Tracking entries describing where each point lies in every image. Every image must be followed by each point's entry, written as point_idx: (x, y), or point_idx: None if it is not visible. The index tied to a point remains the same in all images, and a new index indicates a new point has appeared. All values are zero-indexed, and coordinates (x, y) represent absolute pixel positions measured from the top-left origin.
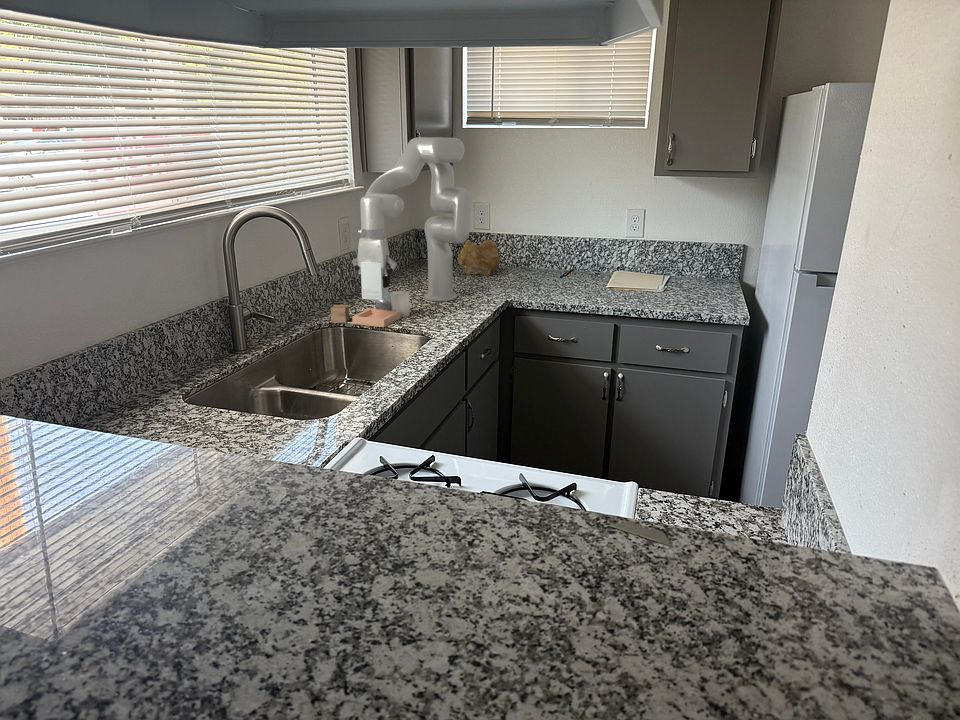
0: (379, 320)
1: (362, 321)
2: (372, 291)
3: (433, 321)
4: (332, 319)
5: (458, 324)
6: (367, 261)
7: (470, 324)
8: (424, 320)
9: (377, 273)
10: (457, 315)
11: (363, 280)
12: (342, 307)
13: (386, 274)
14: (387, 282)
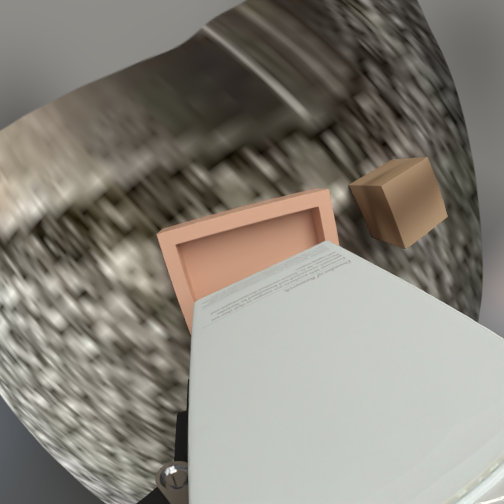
0: (180, 226)
1: (272, 200)
2: (265, 293)
3: (94, 391)
4: (395, 161)
5: (30, 394)
6: (494, 496)
7: (17, 405)
8: (122, 388)
9: (237, 440)
10: (107, 457)
11: (385, 292)
12: (403, 199)
13: (169, 479)
14: (178, 423)
